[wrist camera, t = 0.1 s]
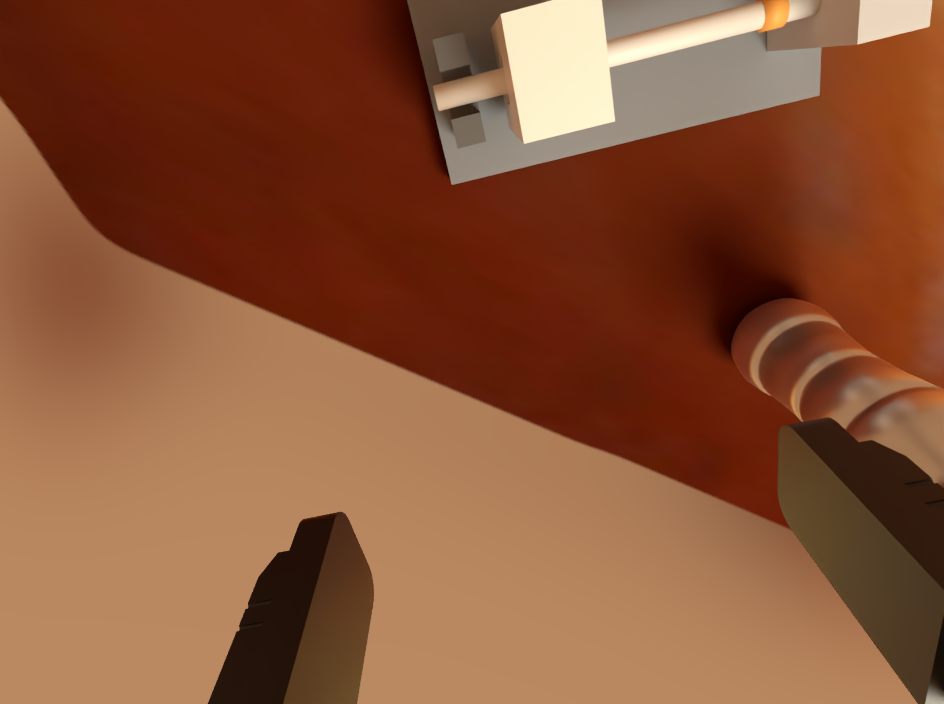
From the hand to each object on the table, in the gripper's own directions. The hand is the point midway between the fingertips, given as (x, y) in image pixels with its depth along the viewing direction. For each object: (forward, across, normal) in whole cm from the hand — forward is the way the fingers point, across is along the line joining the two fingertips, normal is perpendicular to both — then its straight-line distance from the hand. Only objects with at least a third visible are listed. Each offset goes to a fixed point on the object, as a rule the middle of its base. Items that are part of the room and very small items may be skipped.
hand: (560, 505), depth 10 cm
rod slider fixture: (+29, -9, -6) cm, 31 cm away
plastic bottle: (+29, -18, +14) cm, 37 cm away
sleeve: (+26, -4, -7) cm, 27 cm away
